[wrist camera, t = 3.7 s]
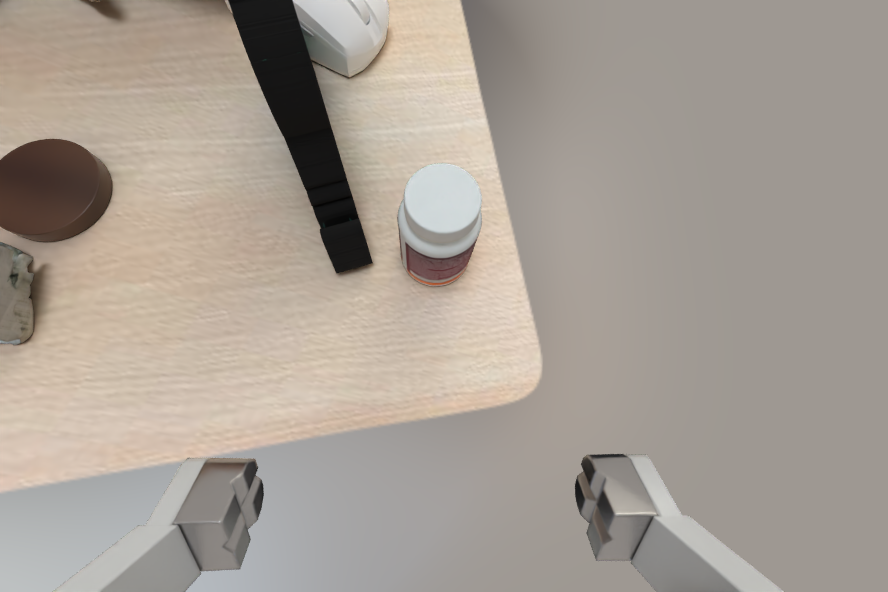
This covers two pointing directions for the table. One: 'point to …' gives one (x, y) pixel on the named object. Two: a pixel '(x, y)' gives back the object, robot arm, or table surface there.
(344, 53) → the computer mouse
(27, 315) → the grey rough chunk
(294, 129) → the decorative sign
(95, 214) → the coaster
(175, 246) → the table surface
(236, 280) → the table surface
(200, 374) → the table surface
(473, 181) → the pill bottle
